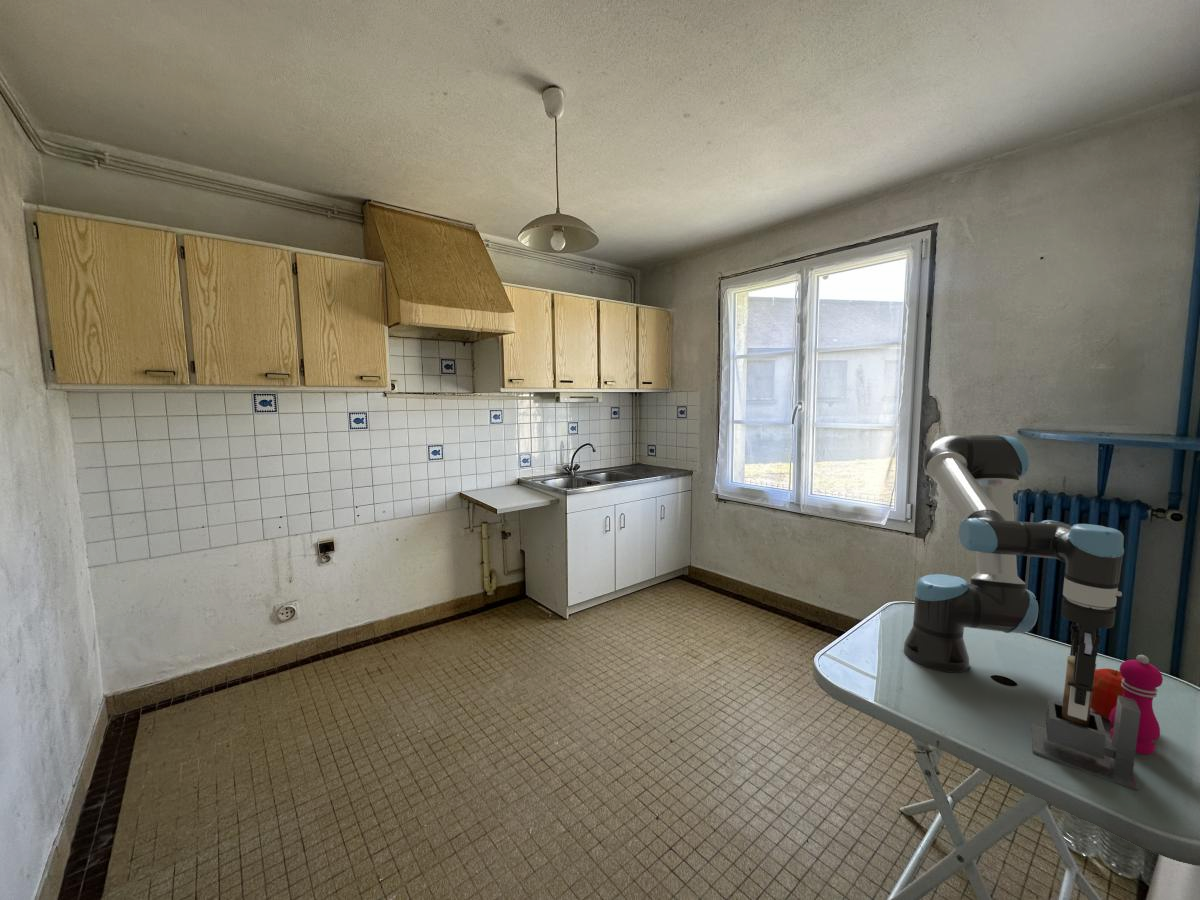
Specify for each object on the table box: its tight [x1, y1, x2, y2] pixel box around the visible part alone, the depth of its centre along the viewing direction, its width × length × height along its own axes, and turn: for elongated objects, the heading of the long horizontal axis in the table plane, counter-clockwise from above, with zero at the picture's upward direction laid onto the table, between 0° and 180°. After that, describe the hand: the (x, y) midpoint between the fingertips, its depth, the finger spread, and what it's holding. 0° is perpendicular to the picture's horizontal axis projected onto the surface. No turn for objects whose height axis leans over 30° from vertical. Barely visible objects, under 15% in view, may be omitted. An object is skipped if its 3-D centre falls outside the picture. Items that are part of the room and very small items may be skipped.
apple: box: [1091, 668, 1124, 721], centre depth 110 cm, size 10×10×12 cm
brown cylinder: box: [1061, 655, 1097, 727], centre depth 98 cm, size 4×4×15 cm
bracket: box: [1031, 695, 1141, 791], centre depth 98 cm, size 14×11×14 cm
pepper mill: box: [1108, 654, 1164, 755], centre depth 101 cm, size 7×7×20 cm
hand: (1075, 711), depth 98 cm, fingers closed on brown cylinder, 4 cm apart
